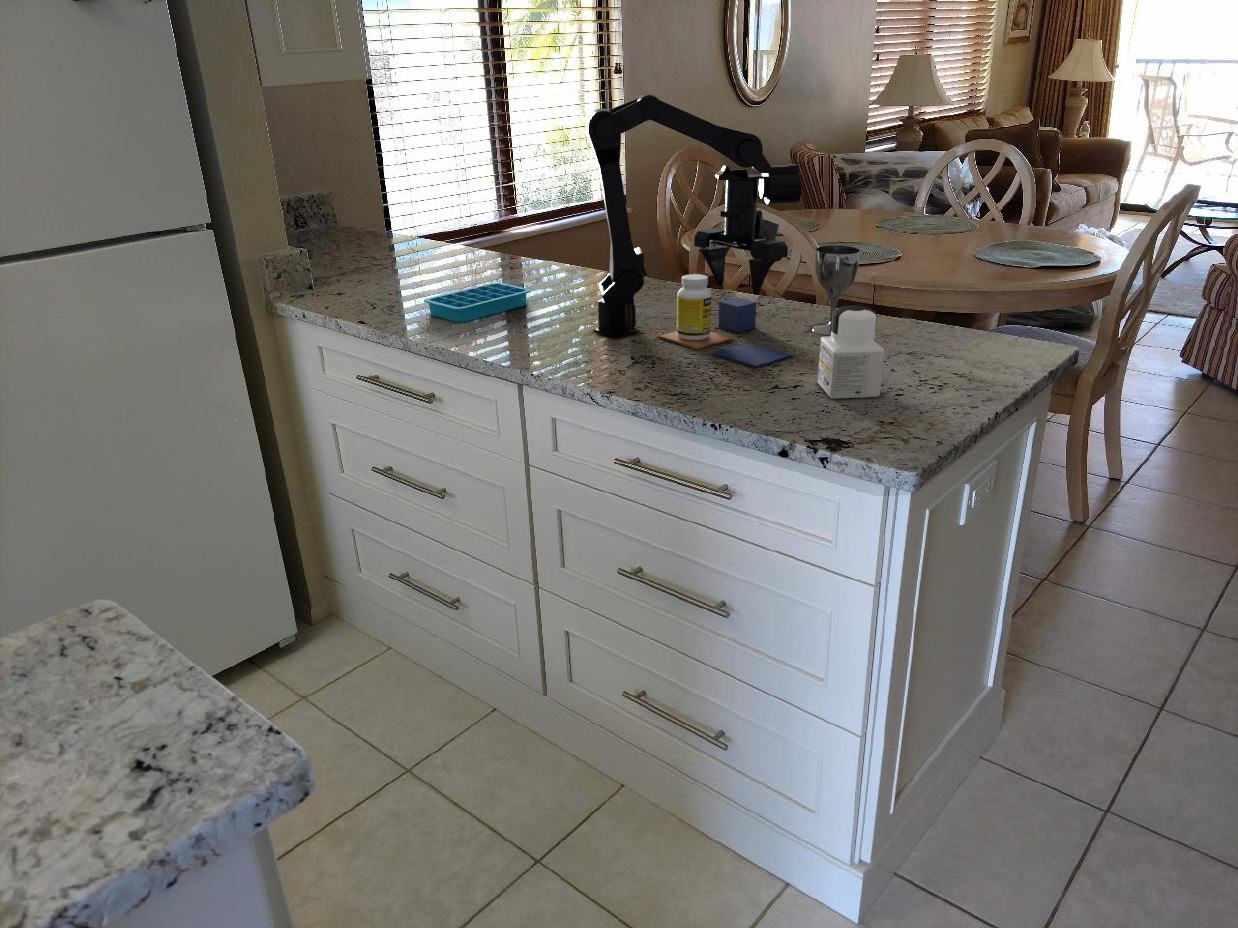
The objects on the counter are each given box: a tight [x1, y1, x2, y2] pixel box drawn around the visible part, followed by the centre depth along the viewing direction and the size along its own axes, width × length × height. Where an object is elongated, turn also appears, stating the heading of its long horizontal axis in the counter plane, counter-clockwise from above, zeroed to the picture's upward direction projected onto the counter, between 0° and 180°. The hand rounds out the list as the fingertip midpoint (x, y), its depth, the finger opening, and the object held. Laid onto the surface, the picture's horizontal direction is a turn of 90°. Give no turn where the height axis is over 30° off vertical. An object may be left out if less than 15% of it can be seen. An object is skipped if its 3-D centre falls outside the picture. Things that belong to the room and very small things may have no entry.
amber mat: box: [658, 330, 733, 350], centre depth 176 cm, size 9×10×1 cm
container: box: [817, 305, 885, 400], centre depth 147 cm, size 8×8×13 cm
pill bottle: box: [676, 273, 712, 340], centre depth 174 cm, size 6×6×11 cm
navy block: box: [717, 297, 757, 334], centre depth 181 cm, size 5×5×5 cm
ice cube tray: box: [423, 282, 532, 323], centre depth 196 cm, size 12×20×3 cm, turn 138°
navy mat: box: [712, 342, 792, 369], centre depth 166 cm, size 9×10×1 cm
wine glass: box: [811, 245, 861, 336], centre depth 177 cm, size 8×8×15 cm
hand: (737, 290), depth 179 cm, fingers open, 9 cm apart
